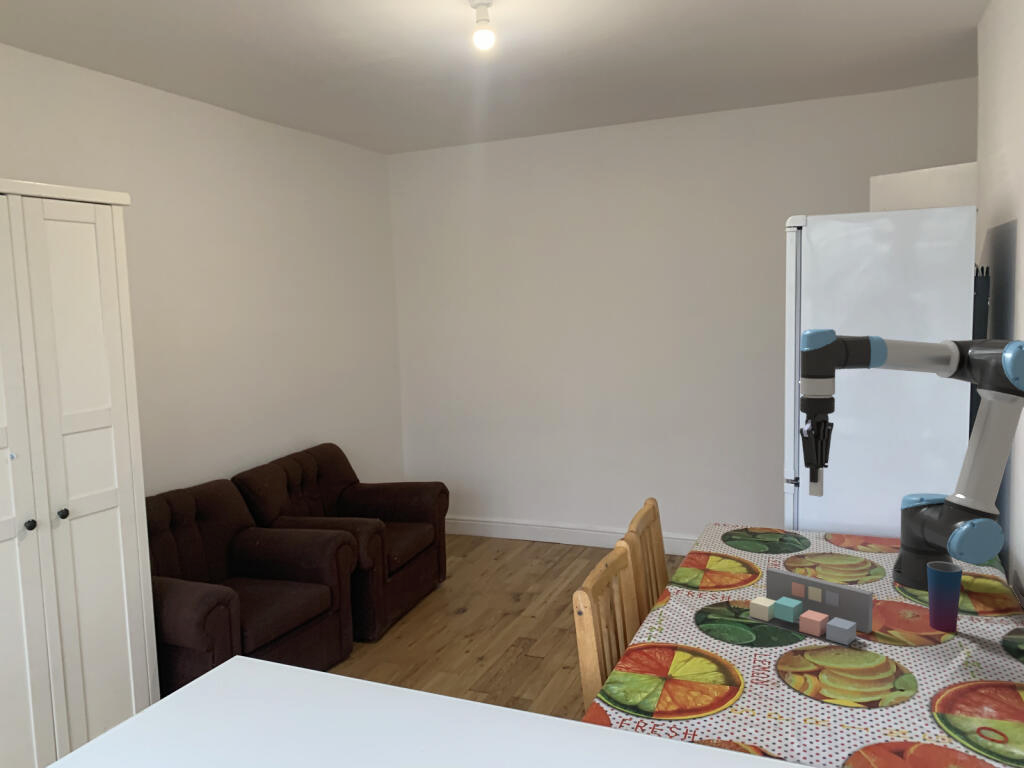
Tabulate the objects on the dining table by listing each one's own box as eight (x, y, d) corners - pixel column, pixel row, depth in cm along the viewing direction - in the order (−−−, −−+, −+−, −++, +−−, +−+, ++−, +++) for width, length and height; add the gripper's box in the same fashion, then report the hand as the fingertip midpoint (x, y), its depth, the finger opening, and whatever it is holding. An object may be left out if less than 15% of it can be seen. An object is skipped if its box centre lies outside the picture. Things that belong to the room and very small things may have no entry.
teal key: (783, 611, 176) (783, 596, 175) (802, 616, 172) (802, 601, 172) (773, 617, 173) (774, 602, 172) (793, 622, 169) (793, 607, 169)
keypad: (771, 606, 186) (771, 566, 185) (872, 635, 169) (873, 591, 168) (737, 626, 175) (737, 584, 174) (842, 659, 158) (843, 613, 157)
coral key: (808, 624, 172) (808, 609, 171) (828, 630, 168) (828, 615, 168) (799, 631, 168) (799, 615, 168) (819, 637, 165) (819, 621, 165)
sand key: (759, 610, 180) (759, 596, 180) (777, 615, 177) (777, 601, 177) (749, 616, 177) (749, 601, 177) (767, 621, 174) (767, 606, 173)
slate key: (835, 632, 167) (835, 617, 167) (856, 638, 164) (856, 622, 164) (826, 639, 164) (826, 623, 164) (847, 645, 161) (847, 629, 161)
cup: (965, 639, 165) (967, 572, 164) (931, 637, 166) (932, 571, 165) (953, 626, 172) (955, 561, 170) (921, 624, 173) (922, 560, 172)
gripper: (814, 392, 184) (812, 487, 186) (788, 397, 175) (787, 498, 177) (845, 394, 179) (843, 492, 181) (820, 399, 170) (819, 503, 172)
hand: (816, 495), depth 179 cm, fingers closed
